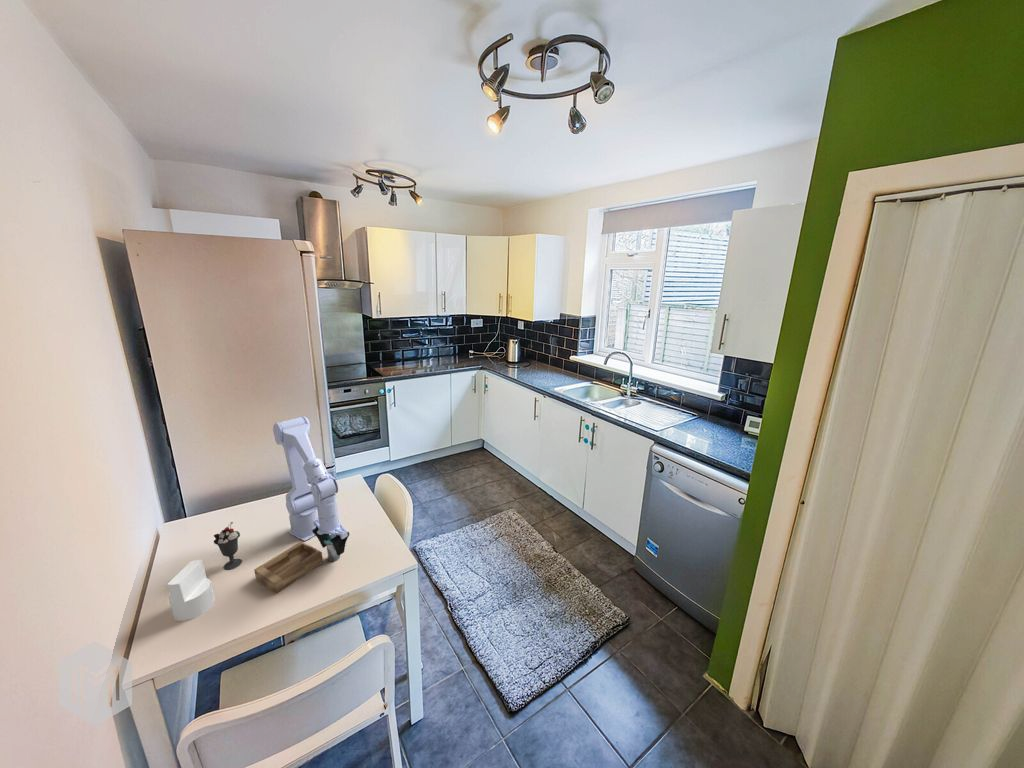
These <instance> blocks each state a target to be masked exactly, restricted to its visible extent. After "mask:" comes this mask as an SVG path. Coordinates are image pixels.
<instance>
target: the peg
mask: <svg viewBox="0 0 1024 768" xmlns="http://www.w3.org/2000/svg"><path fill="white" fill-rule="evenodd" d="M335 536H336V535H333V534H329V535H328V536H327V537H325V539H324V543H325V544H326V553H327V559H328V561H329V562H331V563H333V562H337V561H338V560H339V559H340V558H341V555H339V556H338V555H337V553H336V550H335V547H334V545H333V543H332V542H331V541H330V540H331V539H332V538H334V537H335Z"/></svg>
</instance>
